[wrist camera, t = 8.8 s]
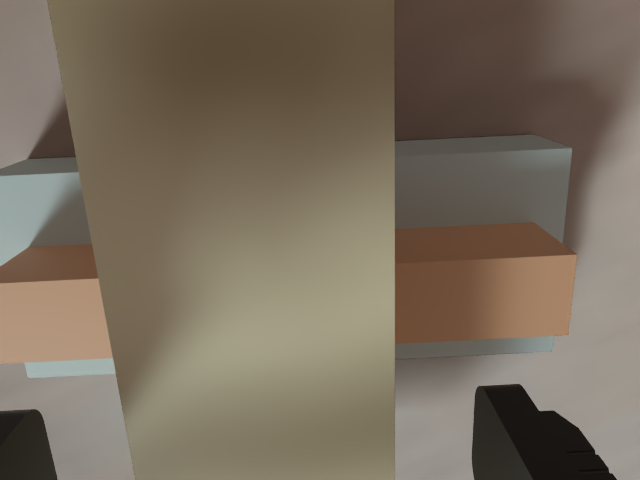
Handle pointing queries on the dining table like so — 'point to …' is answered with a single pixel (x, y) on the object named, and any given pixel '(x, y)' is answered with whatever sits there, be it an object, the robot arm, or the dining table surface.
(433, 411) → the dining table surface
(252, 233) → the batten
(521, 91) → the dining table surface
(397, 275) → the fulcrum
